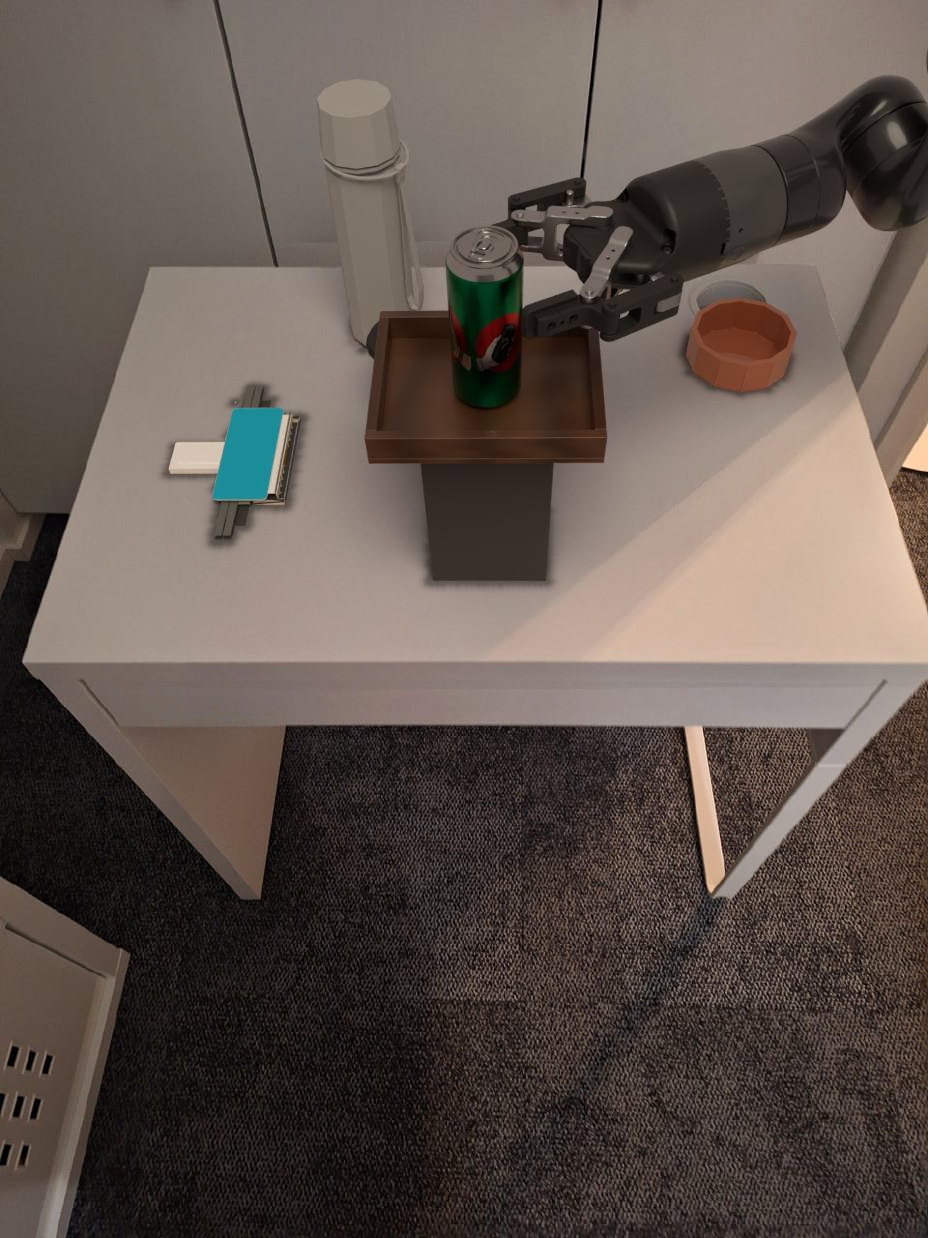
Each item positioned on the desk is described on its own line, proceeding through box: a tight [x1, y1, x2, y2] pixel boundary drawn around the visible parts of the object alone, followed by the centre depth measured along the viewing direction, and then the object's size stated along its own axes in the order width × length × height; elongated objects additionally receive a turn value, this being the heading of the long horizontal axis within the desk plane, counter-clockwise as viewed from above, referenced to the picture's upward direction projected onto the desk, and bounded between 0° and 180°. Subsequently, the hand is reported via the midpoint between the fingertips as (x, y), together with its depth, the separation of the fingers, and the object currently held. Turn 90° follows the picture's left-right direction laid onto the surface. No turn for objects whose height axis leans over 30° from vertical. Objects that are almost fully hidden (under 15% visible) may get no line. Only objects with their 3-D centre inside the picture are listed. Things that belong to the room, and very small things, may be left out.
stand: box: [420, 463, 555, 582], centre depth 76 cm, size 10×8×18 cm
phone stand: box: [168, 384, 302, 541], centre depth 90 cm, size 20×12×2 cm, turn 178°
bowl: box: [685, 297, 798, 393], centre depth 94 cm, size 10×10×4 cm
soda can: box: [444, 224, 525, 409], centre depth 63 cm, size 5×5×12 cm
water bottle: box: [316, 78, 425, 347], centre depth 89 cm, size 9×8×25 cm
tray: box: [364, 309, 608, 465], centre depth 67 cm, size 17×14×2 cm
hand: (493, 287), depth 60 cm, fingers open, 8 cm apart
